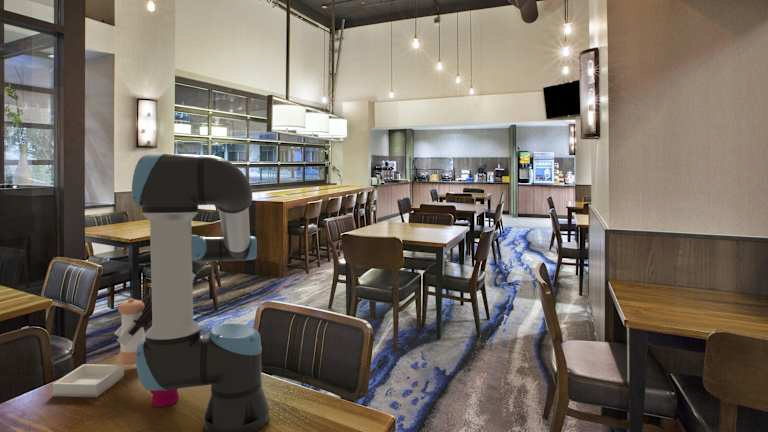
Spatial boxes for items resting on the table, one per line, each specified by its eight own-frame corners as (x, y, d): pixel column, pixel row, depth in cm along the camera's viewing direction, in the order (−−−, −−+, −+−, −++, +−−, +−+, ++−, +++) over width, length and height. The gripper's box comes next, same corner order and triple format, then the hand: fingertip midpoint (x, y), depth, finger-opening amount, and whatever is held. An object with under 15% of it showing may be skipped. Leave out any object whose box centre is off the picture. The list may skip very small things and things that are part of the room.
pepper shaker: (147, 352, 138) (144, 294, 136) (147, 361, 131) (144, 300, 129) (120, 357, 134) (117, 296, 132) (119, 366, 128) (116, 303, 126)
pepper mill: (158, 411, 110) (155, 335, 108) (145, 402, 114) (141, 328, 112) (185, 400, 116) (183, 327, 114) (172, 391, 120) (169, 321, 118)
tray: (97, 397, 116) (96, 384, 116) (53, 396, 116) (52, 383, 116) (124, 376, 128) (123, 365, 128) (84, 375, 128) (83, 364, 128)
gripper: (193, 291, 133) (134, 356, 124) (179, 279, 148) (125, 336, 139) (174, 277, 129) (112, 342, 121) (161, 266, 144) (105, 323, 136)
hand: (119, 339), depth 130 cm, fingers closed on pepper shaker, 6 cm apart
